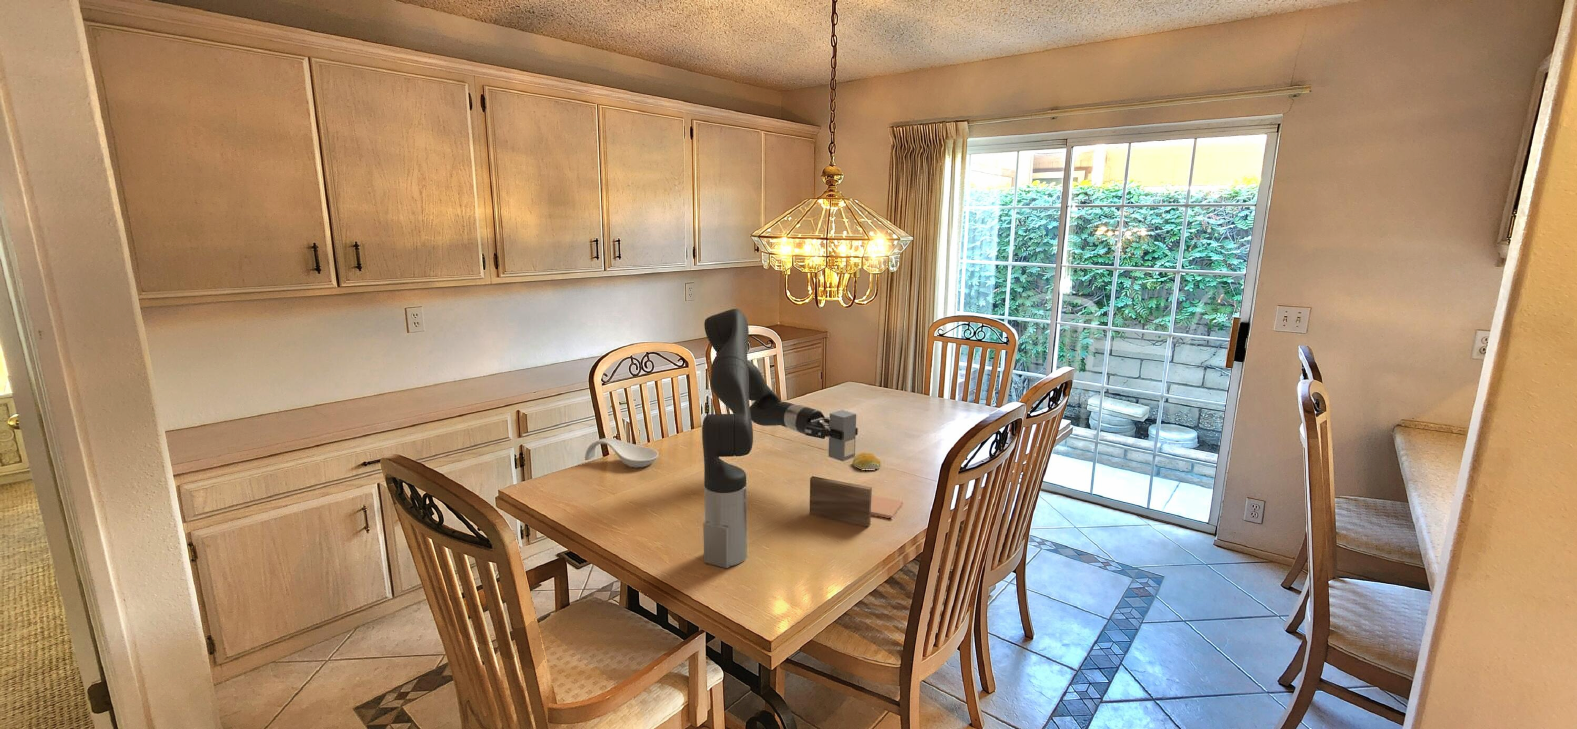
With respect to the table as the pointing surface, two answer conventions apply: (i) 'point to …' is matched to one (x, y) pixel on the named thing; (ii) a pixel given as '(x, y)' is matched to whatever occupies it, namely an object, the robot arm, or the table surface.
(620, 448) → the spoon rest
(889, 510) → the terracotta tile
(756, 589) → the table surface
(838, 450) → the slate block
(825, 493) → the walnut screen
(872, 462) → the bread roll
